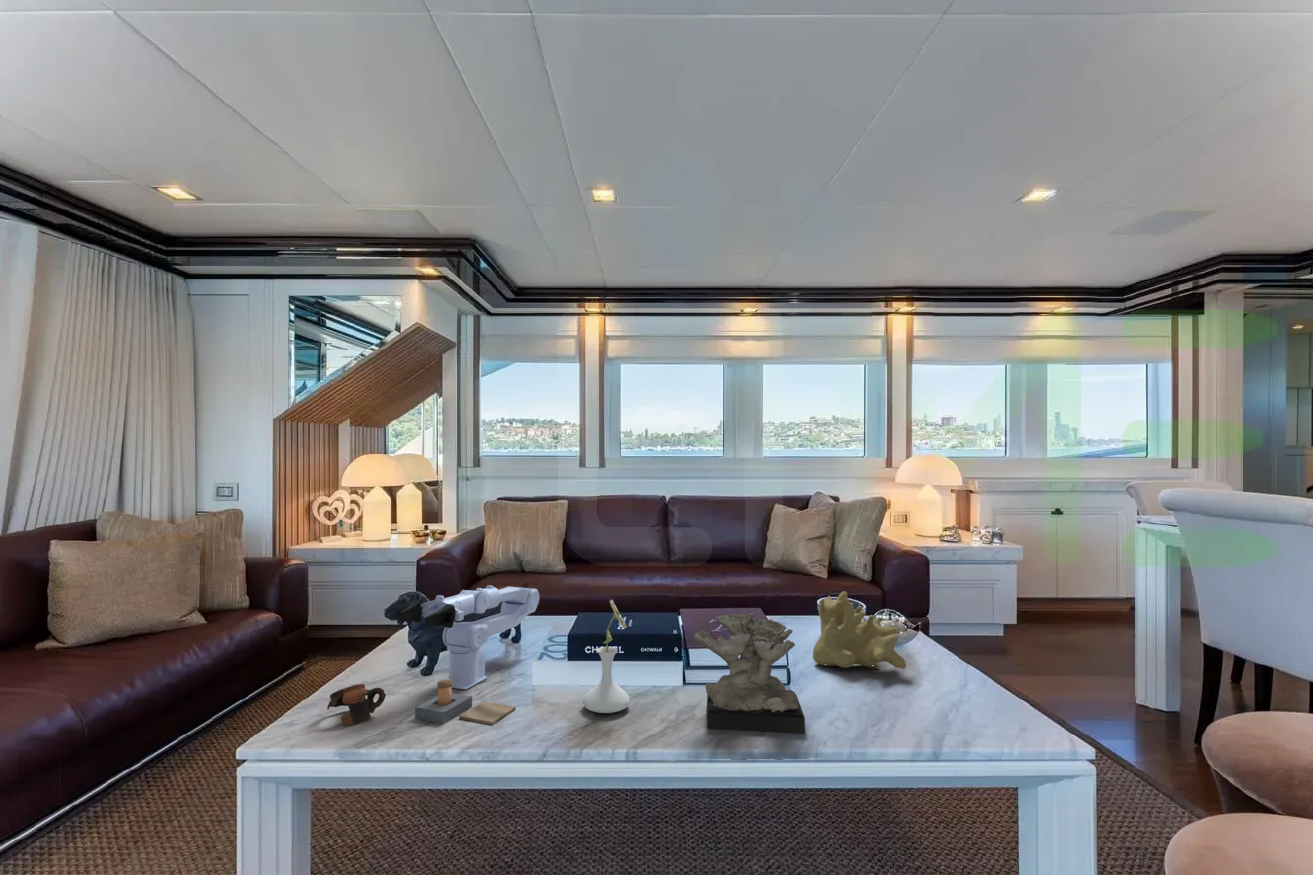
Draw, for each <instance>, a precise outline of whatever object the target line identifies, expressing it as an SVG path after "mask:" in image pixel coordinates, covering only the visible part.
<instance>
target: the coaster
mask: <svg viewBox="0 0 1313 875" xmlns="http://www.w3.org/2000/svg"><path fill="white" fill-rule="evenodd" d="M516 709H517V708H516V706H511V705H507V704H500V703H496V702H495V703H494V702H488V701H482V702H480V703H479V704H477V705H475V706H474V707H471V708H469V709H468V710H466V711H464V712H463V713H461V714H459V717H458V718H459V720H465V721H470V722H476V723H482V724H486V725H495V724H496V723H498V722H499V721H501V720H503V719H504V718H505V717H507V716H508V715H510V714H511V713H513V712H515V711H516Z"/></svg>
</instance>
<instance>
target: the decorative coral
mask: <svg viewBox="0 0 1313 875" xmlns="http://www.w3.org/2000/svg"><path fill="white" fill-rule="evenodd" d="M848 597H849V596H848V593H847V591H846V590H844V591H842V592H840V593H839V595H838V596H837V599H836V600H833V599H832V597H831V596H830V595H828V596H827V597H826V598H823V599H821V600H820V601H819V605H818V615H819V618H820V635H819V638H818V639H817V641H816V643H815V644H814V647H813V651H812V658H813V661H814V662H815V663H816V664H817V665H821V666H823V667H835V666H837V667H840V668H843V669H848V668H850V667H853V666H854V665H859V666H863V667H864V668H871V669H874V670H878V669H879V668H880V666H879V664H878V663H881V662H884V663H885V662H886V663H888V664H890V665H892V666H893V667H894V668H897V669H901V670H902V669H903V670H905V669H906V668H907V662H906V661H905V658H904V657H902V656H901V655H900V654H898V653H897V652H896V650H895V647H896V644H897V642H898V641H899V638H900V637H899V636H898V633H899V631H900V630H899V628H898V627H885V626H882V625H881V623H882V622H883V620H884V617H882V616H881V617H880V616H878V617H877V618H875V615H873V614H870V615H869V617H868V618H867V620H863V619H864V617H866V616H867V613H866V611H863V606H861V605H859V606H857V608H856V609H855V607H854V605H853V604H852V603H851V601H850V600H849V598H848ZM825 664H826V665H825ZM872 665H874V666H872Z"/></svg>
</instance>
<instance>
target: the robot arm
mask: <svg viewBox="0 0 1313 875" xmlns="http://www.w3.org/2000/svg"><path fill="white" fill-rule="evenodd" d="M501 602H502V603H501ZM500 603H501V607H500V612H499V613H495V614H494V615H490V616H487V617H484V618H481V619H478V620H474V621H464V622H461V621H463V620H464V617H465V616H468V615H470V614H484V613H485V612H486V610H490V609H493V608H496V607H498V606H499V604H500ZM539 603H540V592H539V590H538V589H537V588H529V587H528V588H526V587H515V586H506V587H504V588H500V589H498V588H497V587H494V586H493V585H486V587H485V588H481V587H477V588H476V590H471V589H470V590H468V589H467V590H465V589H462V590H461V591H460V592H459V593H458V594H455V595H452V596H448V597H444V595H441V594H440V595H439V594H438V595H436V596H435V599H433V600H430V601H426V602H423V603H422V599H418V598H416V599H413V600H412V601H411V603H410V604H409V605H408V607H406V608H405V609H403V610H402V611H400V612H399V615H398V616H399V617H398V621H399V622H403V623H404V622H413V623H419V624H420V623H422V617H423V618H425V625H424V626H426V627H443V628H444V630H443V632H442V641H443V645H445V646H446V647H447V648H446V650H448V652H449V654H448V679H449V680H452V681H453V685H452V689H458V690H464V691H465V690H468V689H470V688H472V687H473V686H475V685H478V684H479V683H481V682H484V680H486V679H488V675H487V676H486V673H485V672H486V652H485V649H484V648H483V647H482V646H483V645H484V644H486V643H487V642H488V639H489V637H492V636H494V635H497V634H499V633H502V632H504V631H508V630H510V629H513V628H515V627H518V626H519V624H520V623H521V622H522V621H523V620H524V619H526V618H527V616H529V615H530V614H532V613H535V612H536V609H537V608H538V605H539Z"/></svg>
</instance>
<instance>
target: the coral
mask: <svg viewBox="0 0 1313 875" xmlns="http://www.w3.org/2000/svg"><path fill="white" fill-rule="evenodd" d="M714 619H715V620H716V621H717V622H718V623H720V625H721V626H722V627H724V628H725V629H726V630H727V631H728V632H729V633H730V635H729V637H728V638H729V639H725V638H723V637H722V635H720V636H718V638H717V639H713V638H712V635H711V634H709V632H708V631H707V632H706V631H703V630H702V631H699V632H696V633H695V634H694V635H693V637H694V639H695V640H696V641H697V642H698V643H699V644H701V645H703V646H704V647H706V648H707V649H709V650H710V651H711V652H712V653H714V654H715V655H717V656H718V657H720V658H721V659H722V660H723V661H724V662H725V663H726V666H727V667H728V668H729V674H726V675H725V674H724V675H722V676H721V677H719V680H718V681H717V682H716V683H710V682H705V690H706V728H707V729H719V730H733V731H734V730H735V731H736V730H737V731H748V732H749V731H750V732H751V731H752V732H769V733H783V734H784V733H785V734H802V735H803V734H806V719H805V715H804V711H803V709H802V706H801V703H800V701H799V698H798V696H797V693H796V692H795V691H794V690H792V689H786V686H785V684H784V682H782V681H781V680H780V679H779V678H778V677H777V676H773V675H771V674H772V668H771V667H772V665H774V664H775V663H776V662H778V661H779V660H780V659H781V658H784V656H786V654H787V653H788V652H790V650H792V649H793V648H794V647H795V646H796V644H795V642H794V641H791V640H789V639H788V638H789V637H790V635H791V634H793V629H791V628H788V629H787V626H786V625H784V624H782V623H781V622H779V621H777V620H776V621H775V620H773V619H771V618H770V619H769V618H768V619H760V618H759V619H757V618H754V613H748V614H747V615H746V614H744V615H743V614H737V613H735V614H734V613H730V614H729V613H727V614H722V615H718V616H715V617H714ZM786 629H787V630H786ZM787 639H788V640H787Z"/></svg>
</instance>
